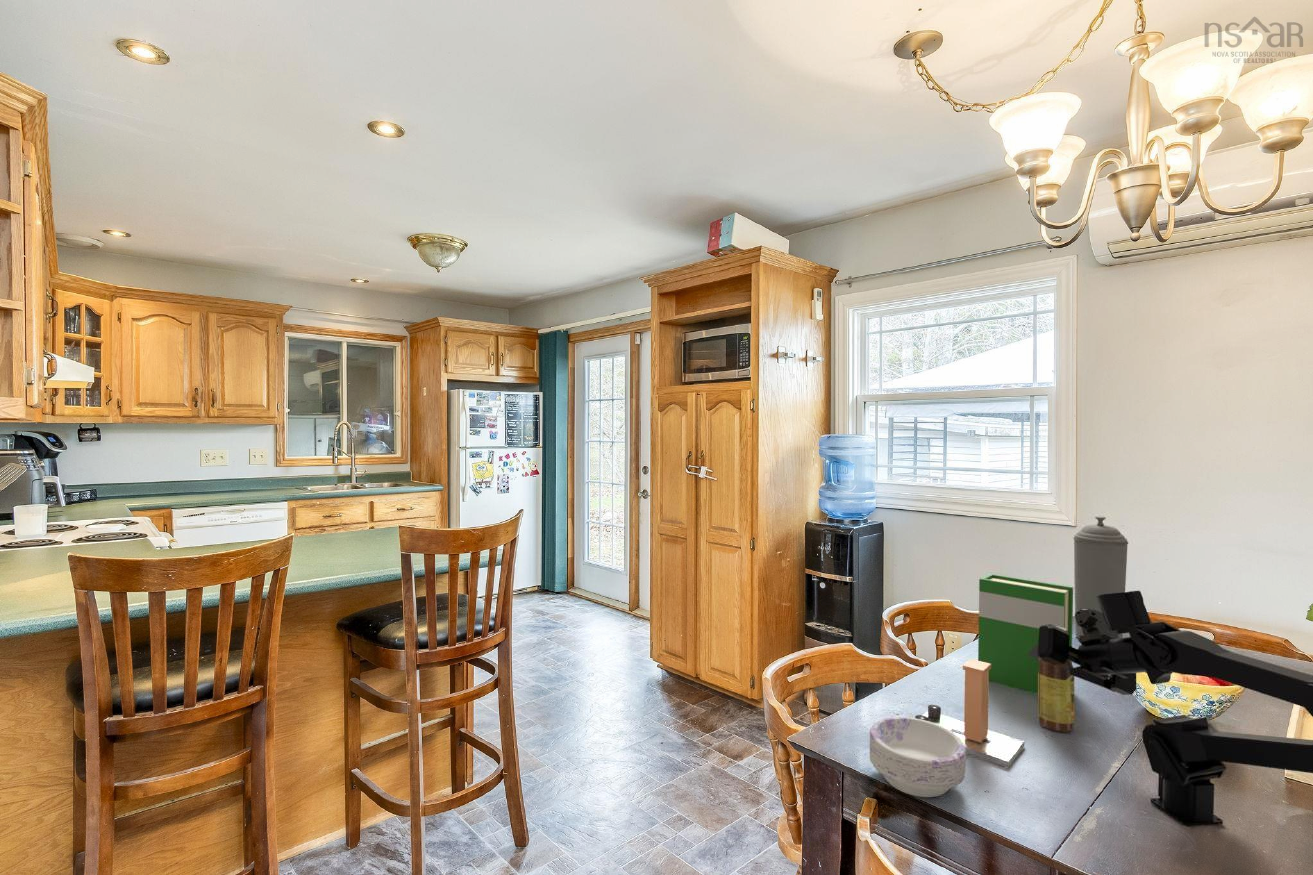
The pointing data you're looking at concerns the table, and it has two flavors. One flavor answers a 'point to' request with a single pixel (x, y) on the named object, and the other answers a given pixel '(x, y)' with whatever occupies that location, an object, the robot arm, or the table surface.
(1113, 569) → the canister
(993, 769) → the table surface
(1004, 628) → the hardback book
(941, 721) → the fader console
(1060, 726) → the sauce bottle
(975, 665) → the fader tab
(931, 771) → the paper bowls
